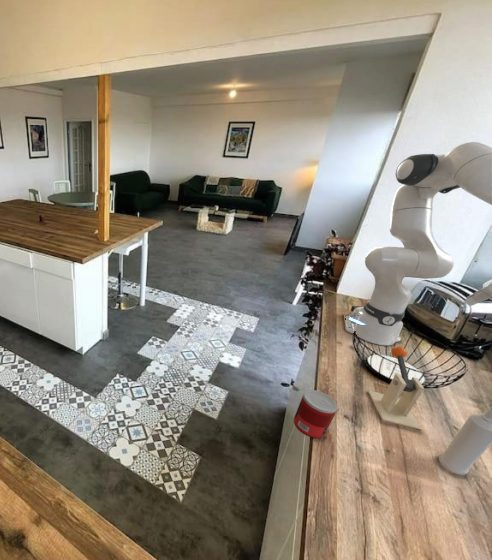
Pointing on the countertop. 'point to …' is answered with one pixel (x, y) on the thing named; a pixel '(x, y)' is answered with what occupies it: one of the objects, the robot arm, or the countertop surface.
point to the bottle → (468, 443)
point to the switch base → (398, 402)
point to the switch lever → (403, 367)
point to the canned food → (315, 413)
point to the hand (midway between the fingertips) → (467, 301)
